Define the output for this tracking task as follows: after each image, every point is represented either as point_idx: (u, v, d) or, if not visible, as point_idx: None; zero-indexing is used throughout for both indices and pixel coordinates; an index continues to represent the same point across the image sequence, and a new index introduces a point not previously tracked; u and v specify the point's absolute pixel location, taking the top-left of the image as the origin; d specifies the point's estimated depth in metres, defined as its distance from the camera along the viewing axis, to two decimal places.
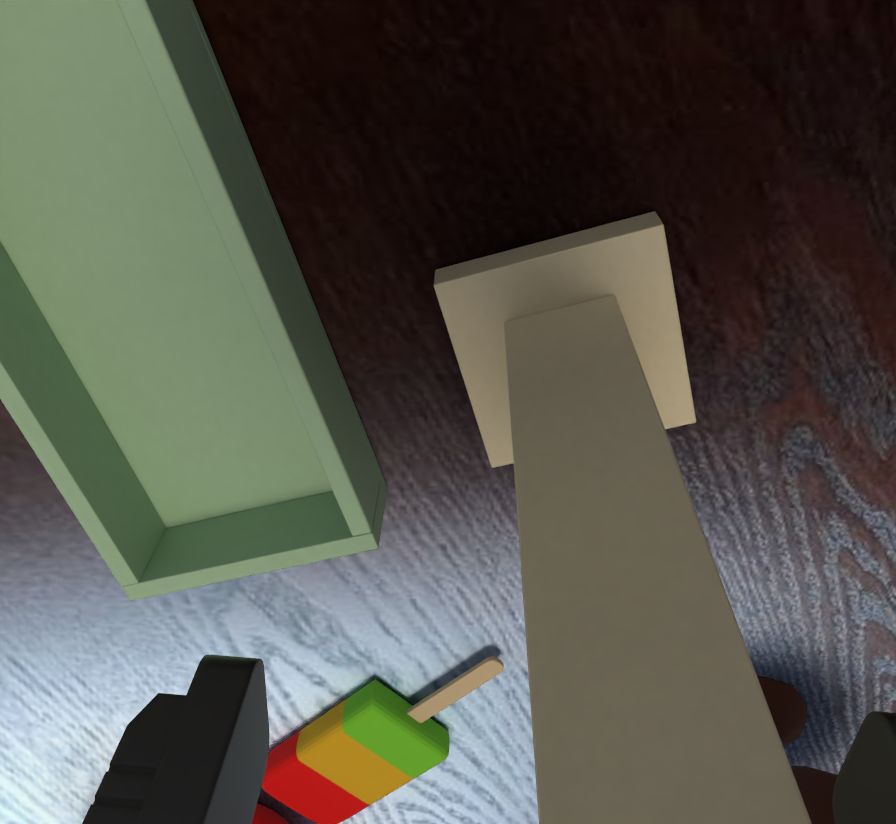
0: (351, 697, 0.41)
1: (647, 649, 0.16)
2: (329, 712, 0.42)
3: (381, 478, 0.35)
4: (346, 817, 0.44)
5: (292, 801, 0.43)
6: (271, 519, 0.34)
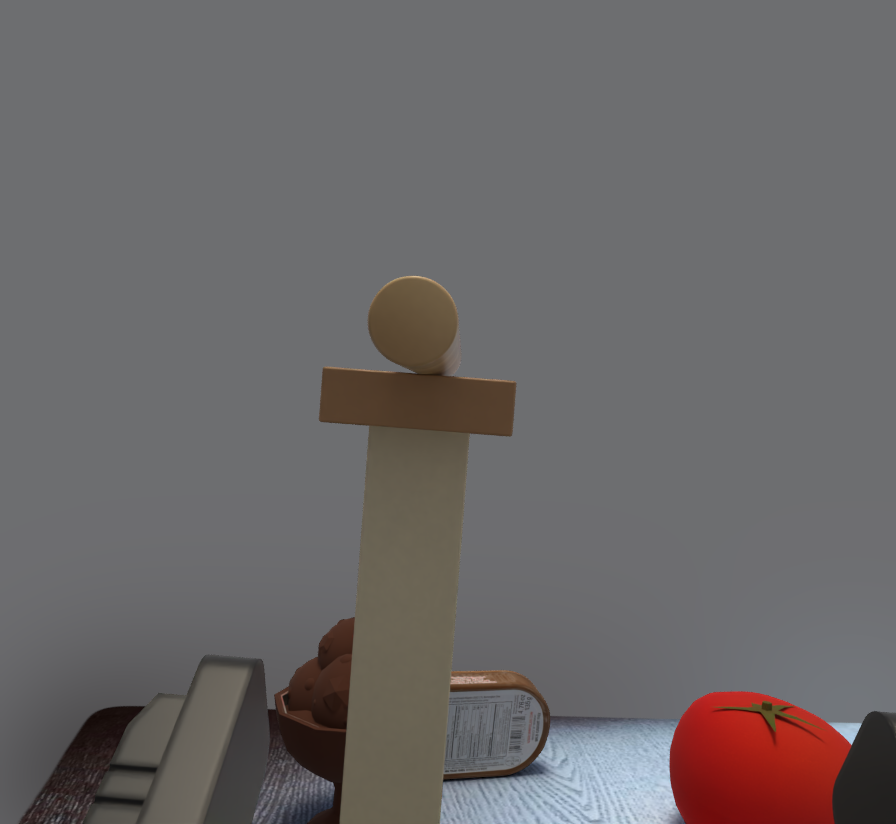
0: None
1: (388, 738, 0.33)
2: None
3: None
4: None
5: None
6: None
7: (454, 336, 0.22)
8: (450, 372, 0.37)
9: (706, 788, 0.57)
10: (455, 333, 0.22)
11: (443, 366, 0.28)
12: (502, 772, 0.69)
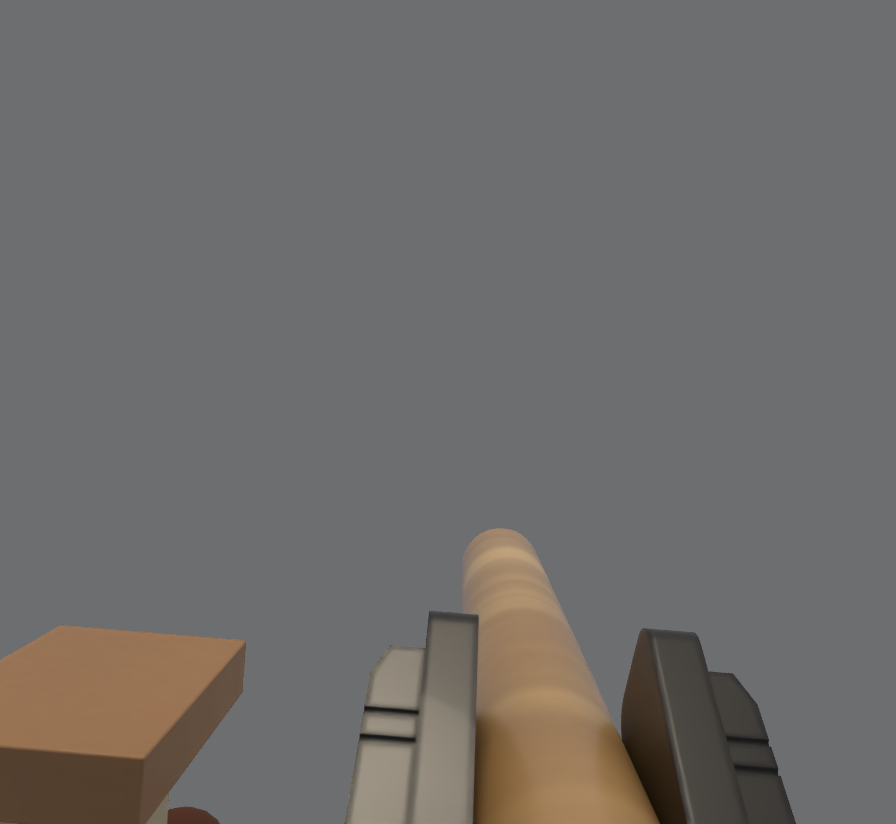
0: None
1: None
2: None
3: None
4: None
5: None
6: None
7: None
8: None
9: None
10: None
11: None
12: None
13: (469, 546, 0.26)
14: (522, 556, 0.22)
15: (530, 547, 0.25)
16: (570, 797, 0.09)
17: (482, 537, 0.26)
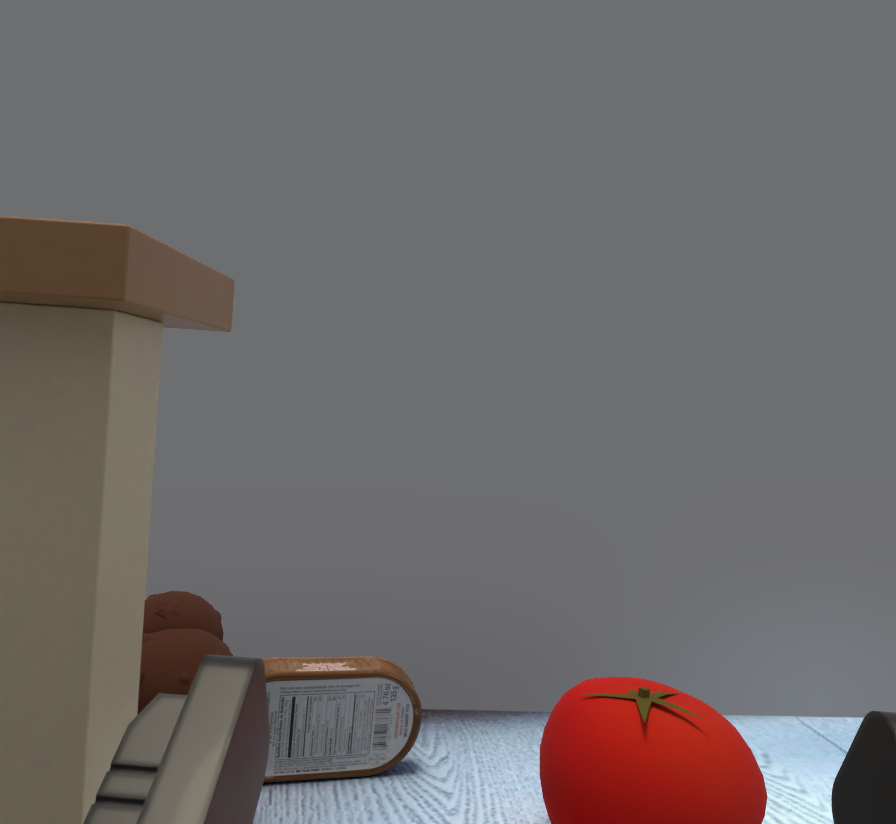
0: None
1: (12, 723, 0.25)
2: None
3: None
4: None
5: None
6: None
7: None
8: None
9: (567, 789, 0.48)
10: None
11: None
12: (365, 772, 0.61)
13: None
14: None
15: None
16: None
17: None
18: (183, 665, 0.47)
